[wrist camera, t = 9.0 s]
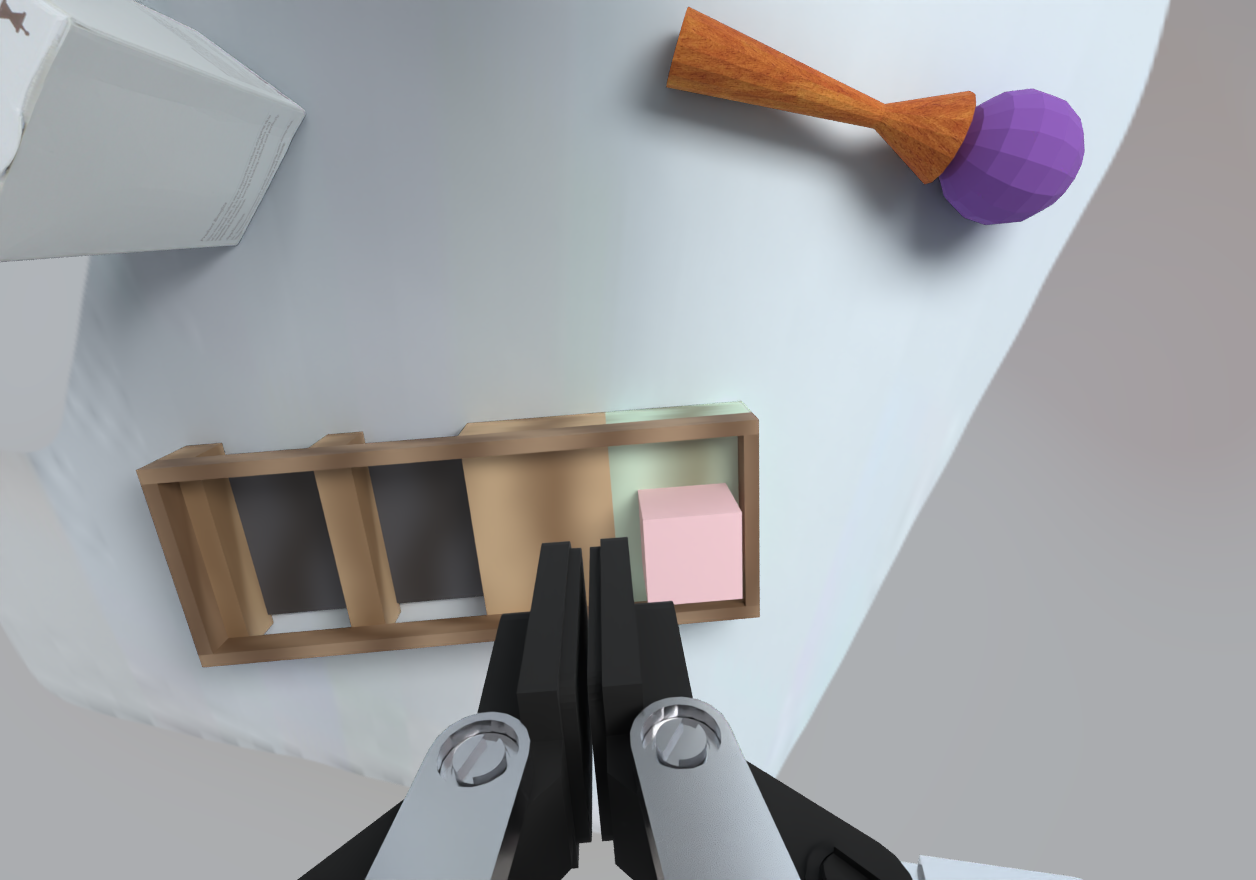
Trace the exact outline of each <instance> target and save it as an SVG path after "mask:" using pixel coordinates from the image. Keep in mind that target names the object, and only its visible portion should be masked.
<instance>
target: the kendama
mask: <svg viewBox="0 0 1256 880" xmlns="http://www.w3.org/2000/svg"><path fill="white" fill-rule="evenodd" d="M666 87H668V88H673V89H678V90H683V91H688V92H693V93H698V94H703V95H708V96H713V97H718V98H723V99H728V100H733V101H738V102H743V103H748V104H753V105H758V106H763V107H768V108H773V109H778V110H783V111H788V112H793V113H798V114H803V115H808V116H813V117H818V118H823V119H828V120H833V121H838V122H843V123H848V124H853V125H858V126H863V127H868V128H873V129H875V130H876V131H877V132H878V133H879V135H880V136H881V137H882V138H883V139H884V140H885V141H886V142H887V143H888V145H889V146H890V147H891V148H892V149H893V150H894V151H895V152H896V153H897V155H898V156H899V157H900V158H901V159H902V160H903V161H904V162H905V163H906V165H907V166H908V167H909V168H910V169H911V170H912V171H913V172H914V173H915V175H916V176H917V177H918V178H919V179H920V180H921V181H922V182H923V183H924V184H927V183H931V182H933V181H934V180H935V179H936V178H937V177H938V176H939V179H940V183H941V187H942V191H943V195H944V197H945V198H946V199H947V201H948V202H949V203H950V204H951V205H952V206H953V207H954V208H955V209H956V210H957V211H958V212H959V213H960V214H961V215H962V216H963V217H964V218H966V219H969V220H972V221H975V222H978V223H981V224H984V225H990V224H1000V223H1011V222H1021V221H1023V220H1025V219H1027V218H1029V217H1031V216H1033V215H1035V214H1036V213H1038V212H1040V211H1042V210H1044V209H1046V208H1047V207H1049V206H1050V205H1052V204H1054V203H1055V202H1056V201H1057V200H1058V199H1059V198H1060V197H1061V196H1062V195H1063V194H1064V193H1065V192H1066V190H1067V189H1068V187H1069V186H1070V185H1071V183H1072V182H1073V180H1074V179H1075V177H1076V175H1077V173H1078V171H1079V169H1080V167H1081V165H1082V160H1083V156H1084V133H1083V128H1082V123H1081V119H1080V118H1079V116H1078V115H1077V114H1076V113H1075V111H1074V110H1073V109H1072V108H1071V106H1070V105H1069V104H1068V103H1067V101H1065V100H1062V99H1060V98H1058V97H1055V96H1053V95H1050V94H1047V93H1044V92H1041V91H1038V90H1035V89H1025V90H1017V91H1009V92H1004V93H1002V94H1000V95H998V96H995V97H993V98H991V99H990V100H988V101H986V102H984V103H982V104H980V105H979V106H977V107H976V97H975V94H974V93H973V92H971V91H966V92H959V93H953V94H947V95H940V96H934V97H927V98H921V99H914V100H908V101H902V102H895V103H889V104H883V103H881V102H879V101H877V100H875V99H873V98H871V97H869V96H867V95H865V94H863V93H861V92H859V91H857V90H855V89H853V88H851V87H849V86H847V85H845V84H843V83H841V82H839V81H837V80H835V79H833V78H831V77H829V76H827V75H825V74H823V73H821V72H819V71H817V70H815V69H813V68H811V67H809V66H807V65H805V64H803V63H801V62H799V61H797V60H795V59H793V58H791V57H789V56H787V55H785V54H783V53H781V52H779V51H777V50H775V49H773V48H771V47H769V46H767V45H765V44H763V43H761V42H759V41H757V40H755V39H753V38H751V37H749V36H747V35H745V34H743V33H741V32H739V31H737V30H735V29H733V28H731V27H729V26H726V25H724V24H722V23H720V22H718V21H716V20H714V19H712V18H710V17H708V16H706V15H704V14H702V13H700V12H698V11H696V10H694V9H692V8H690V7H688V8H687V11H686V14H685V17H684V21H683V24H682V27H681V31H680V34H679V38H678V41H677V45H676V49H675V52H674V56H673V60H672V64H671V68H670V72H669V76H668V80H667V86H666Z"/></svg>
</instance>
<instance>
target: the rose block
mask: <svg viewBox="0 0 1256 880" xmlns="http://www.w3.org/2000/svg"><path fill="white" fill-rule="evenodd" d="M638 502H639V518H640V534H641V550H642V565H643V574H644V581H645V587H646V594H647V601H648V603H649V602H662V601H673V603H674V604H685V603H697V602H709V601H721V600H733V599H742V512H741V510H740V508H739V506H738V504H737V502H736V501H735V499H734V497H733V495H732V493H731V492H730V490H729V488H728V486H727V484H726V483H718V484H706V485H693V486H680V487H668V488H655V489H642V490H638Z"/></svg>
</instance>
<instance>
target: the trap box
mask: <svg viewBox="0 0 1256 880" xmlns="http://www.w3.org/2000/svg"><path fill="white" fill-rule="evenodd" d="M136 472H137V475H138V478H139V481H140V484H141V487H142V490H143V493H144V495H145V498H146V501H147V504H148V507H149V510H150V513H151V516H152V519H153V522H154V525H155V528H156V531H157V534H158V537H159V540H160V543H161V546H162V549H163V552H164V555H165V558H166V561H167V564H168V567H169V570H170V573H171V575H172V578H173V581H174V584H175V587H176V590H177V593H178V596H179V599H180V602H181V605H182V608H183V611H184V614H185V617H186V620H187V623H188V626H189V629H190V632H191V635H192V638H193V641H194V644H195V647H196V650H197V653H198V655H199V658H200V661H201V664H202V667H213V666H224V665H235V664H246V663H257V662H268V661H280V660H291V659H302V658H313V657H324V656H335V655H346V654H357V653H368V652H379V651H390V650H401V649H412V648H424V647H435V646H446V645H457V644H468V643H479V642H490V641H495V637H496V633H497V629H498V625H499V621H500V618H501V615H502V614H504V613H518V612H530V610H531V604H532V598H533V592H534V586H535V580H536V574H537V568H538V562H539V556H540V550H541V545H542V543H550V542H564V541H570V543H571V548H581V549H582V558H583V568H584V579H585V590H586V600H587V611H588V612H589V560H590V547H596V546H600V539H605V538H619V537H628V545H629V555H630V565H631V576H632V586H633V596H634V604H636V603H648V601H647V594H646V587H645V581H644V574H643V565H642V550H641V534H640V518H639V502H638V490H642V489H655V488H668V487H680V486H693V485H706V484H718V483H726V484H727V486H728V488H729V490H730V492H731V493H732V495H733V497H734V499H735V501H736V502H737V504H738V506H739V508H740V510H741V512H742V599H733V600H721V601H709V602H697V603H685V604H674V607H675V612H676V617H677V622H678V624H689V623H700V622H712V621H723V620H734V619H745V618H756V617H760V587H759V419H758V418H757V417H756V416H755V415H754V414H753V413H752V412H751V411H750V410H749V409H748V408H747V407H746V406H745V405H744V403H743V402H742V401H738V402H726V403H713V404H701V405H688V406H676V407H663V408H651V409H639V410H626V411H614V412H601V413H589V414H576V415H564V416H551V417H539V418H527V419H514V420H502V421H489V422H477V423H467V424H466V426H465V427H464V429H463V430H462V431H461V433H460V434H459V435H458V436H452V437H440V438H427V439H415V440H402V441H390V442H378V443H365V440H364V435H363V432H352V433H340V434H328V435H326V436H325V437H323V438H322V439H321V440H319V441H318V442H316V443H315V444H313V445H312V446H311V447H309V448H304V449H291V450H279V451H266V452H254V453H242V454H229V455H225V452H224V449H223V445H222V443H215V444H203V445H191V446H185V447H183V448H181V449H179V450H177V451H175V452H173V453H171V454H168V455H166V456H164V457H162V458H160V459H158V460H156V461H154V462H152V463H150V464H148V465H146V466H144V467H142V468H140V469H138V470H136ZM475 596H484V599H485V605H486V612H487V615H482V616H471V617H459V618H448V619H437V620H426V621H414V622H403V623H395V622H396V620H397V618H398V616H399V614H400V612H401V610H400V605H399V603H407V602H419V601H430V600H441V599H453V598H464V597H475ZM339 608H347V610H348V614H349V619H350V623H351V627H347V628H336V629H325V630H313V631H302V632H291V633H280V634H269V635H264V634H265V632H266V631H267V630H268V629H269V628H270V627H271V625H272V624H273V619H272V616H271V614H283V613H294V612H305V611H317V610H328V609H339Z"/></svg>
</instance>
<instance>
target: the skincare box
mask: <svg viewBox="0 0 1256 880" xmlns="http://www.w3.org/2000/svg"><path fill="white" fill-rule="evenodd" d="M305 114H306V112H305V110H304V109H303V108H301V107H300V106H299V105H298V104H296V103H295V102H294V101H292V100H291V99H290V98H288V97H287V96H285V95H284V94H283V93H281V92H280V91H279V90H277V89H276V88H275V87H273V86H272V85H271V84H269V83H268V82H267V81H265V80H264V79H262V78H261V77H260V76H258V75H257V74H256V73H254V72H253V71H251V70H250V69H249V68H247V67H246V66H245V65H243V64H242V63H240V62H239V61H238V60H236V59H235V58H234V57H232V56H231V55H229V54H228V53H227V52H225V51H224V50H223V49H221V48H220V47H218V46H217V45H216V44H214V43H213V42H212V41H210V40H209V39H208V38H206V37H205V36H203V35H202V34H201V33H199V32H198V31H196V30H194V29H192V28H190V27H188V26H186V25H184V24H182V23H180V22H178V21H176V20H174V19H172V18H169V17H167V16H165V15H163V14H161V13H159V12H157V11H155V10H152V9H150V8H148V7H146V6H144V5H142V4H140V3H137V2H135V1H133V0H0V262H7V261H20V260H34V259H46V258H60V257H73V256H86V255H104V254H120V253H132V252H147V251H161V250H176V249H190V248H204V247H218V246H235V245H238V243H239V241H240V240H241V238H242V236H243V234H244V232H245V230H246V228H247V227H248V225H249V223H250V221H251V219H252V217H253V215H254V213H255V211H256V209H257V208H258V206H259V204H260V202H261V200H262V198H263V196H264V194H265V192H266V190H267V188H268V187H269V185H270V183H271V181H272V179H273V177H274V175H275V173H276V171H277V169H278V167H279V165H280V163H281V161H282V160H283V158H284V156H285V153H286V151H287V149H288V147H289V145H290V142H291V140H292V138H293V136H294V134H295V132H296V131H297V129H298V127H299V125H300V123H301V122H302V120H303V118H304V117H305Z"/></svg>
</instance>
